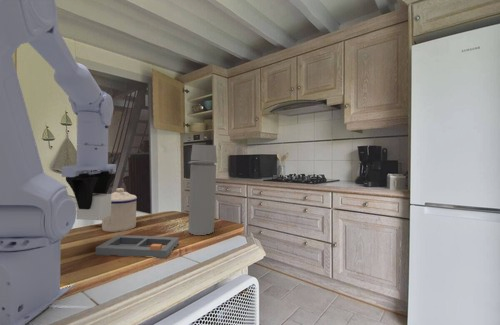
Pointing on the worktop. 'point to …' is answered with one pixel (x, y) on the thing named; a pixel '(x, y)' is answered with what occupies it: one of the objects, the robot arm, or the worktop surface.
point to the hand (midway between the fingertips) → (91, 206)
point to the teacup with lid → (121, 212)
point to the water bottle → (202, 189)
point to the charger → (96, 208)
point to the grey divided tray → (138, 246)
